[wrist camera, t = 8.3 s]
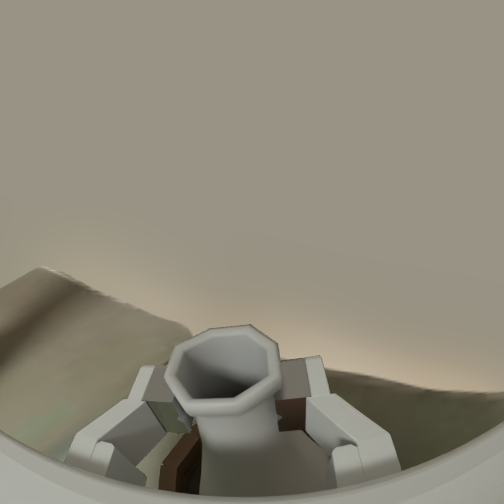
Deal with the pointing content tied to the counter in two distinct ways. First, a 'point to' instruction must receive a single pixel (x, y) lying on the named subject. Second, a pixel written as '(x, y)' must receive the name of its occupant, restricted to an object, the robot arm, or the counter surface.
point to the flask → (242, 416)
